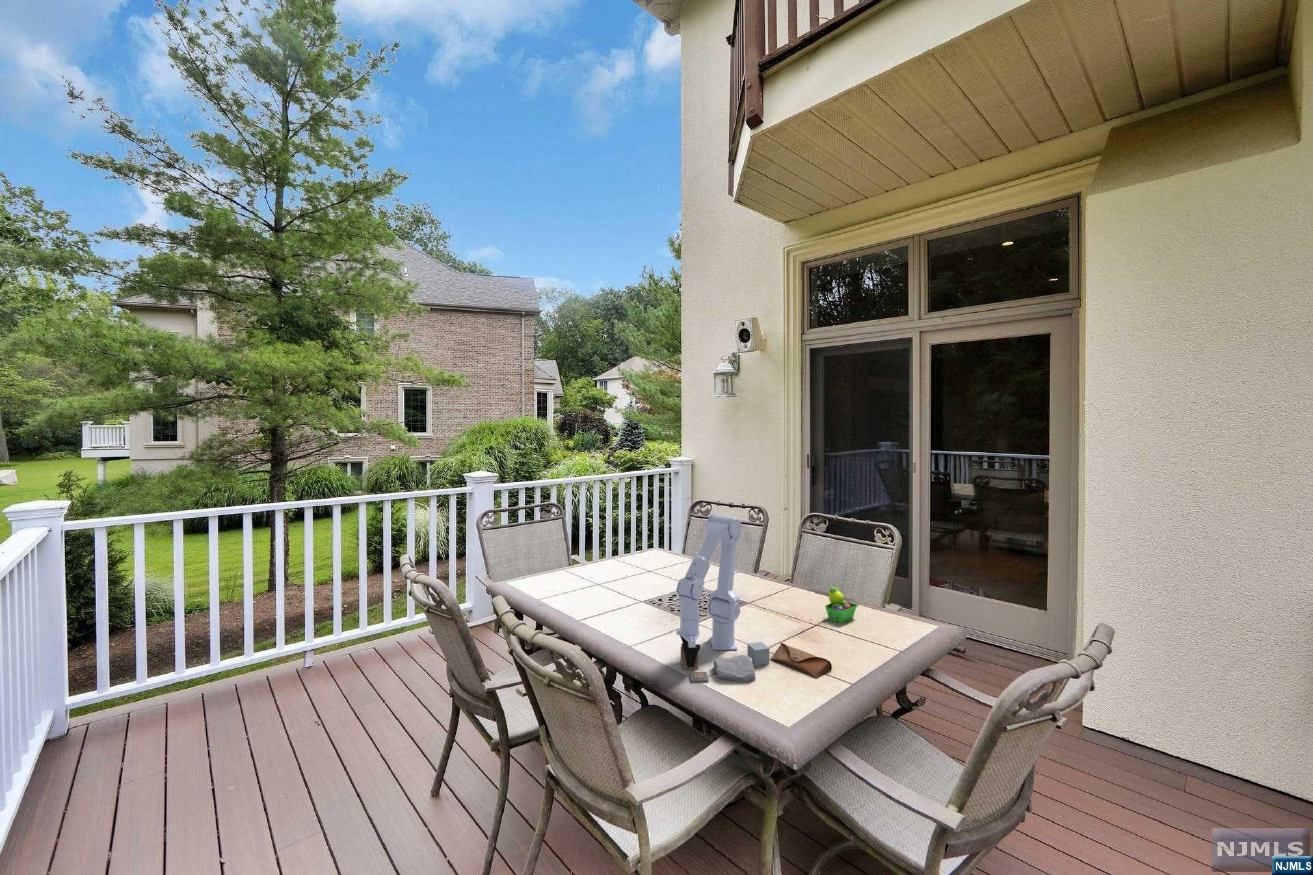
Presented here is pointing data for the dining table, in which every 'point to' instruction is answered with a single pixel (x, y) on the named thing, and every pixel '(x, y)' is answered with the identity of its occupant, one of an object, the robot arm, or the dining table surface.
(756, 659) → the blue-grey cube
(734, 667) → the stone block
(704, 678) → the tile
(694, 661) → the robot arm
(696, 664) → the walnut cube
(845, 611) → the fruit basket
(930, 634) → the dining table surface
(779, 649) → the sunglasses case
